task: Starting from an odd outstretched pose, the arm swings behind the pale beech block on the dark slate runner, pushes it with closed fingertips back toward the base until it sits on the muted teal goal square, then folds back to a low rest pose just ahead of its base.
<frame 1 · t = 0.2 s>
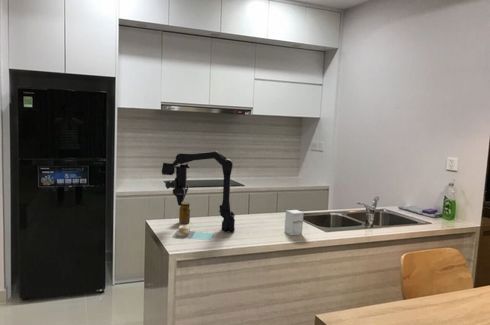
hand: (180, 203, 215), 14 cm above the countertop, fingers open, 9 cm apart
supplement box: (293, 233, 218), on the countertop
runner mat: (193, 236, 203), on the countertop
beech block: (184, 234, 204), point 1 cm above the countertop, touching runner mat
condiment: (184, 224, 225), on the countertop
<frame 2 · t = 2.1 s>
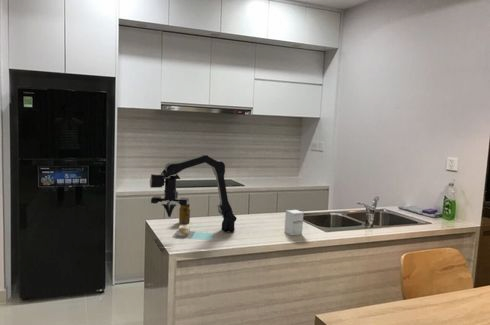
hand: (169, 216, 203), 9 cm above the countertop, fingers closed
nothing on the countertop moved.
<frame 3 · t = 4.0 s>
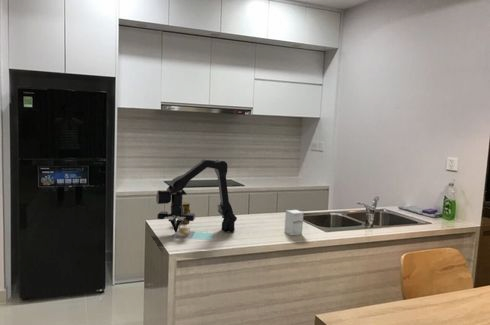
hand: (176, 232, 204), 1 cm above the countertop, fingers closed
beech block: (184, 234, 204), point 1 cm above the countertop, touching gripper
everything else where it was.
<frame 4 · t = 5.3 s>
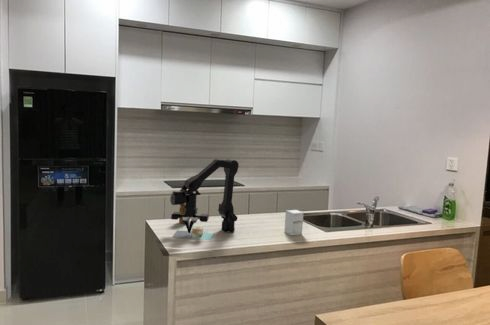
hand: (189, 232, 203), 2 cm above the countertop, fingers closed
beech block: (197, 235, 203), point 1 cm above the countertop, touching gripper, runner mat
everything else where it was.
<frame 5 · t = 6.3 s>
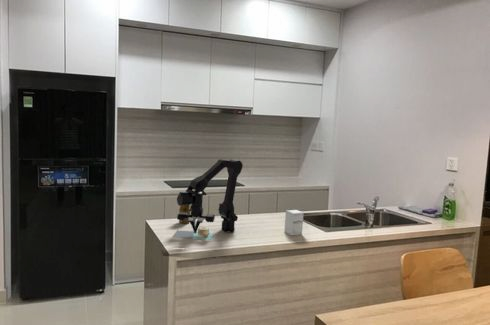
hand: (195, 233, 203), 2 cm above the countertop, fingers closed
beech block: (203, 235, 203), point 1 cm above the countertop, touching gripper, runner mat
everything else where it was.
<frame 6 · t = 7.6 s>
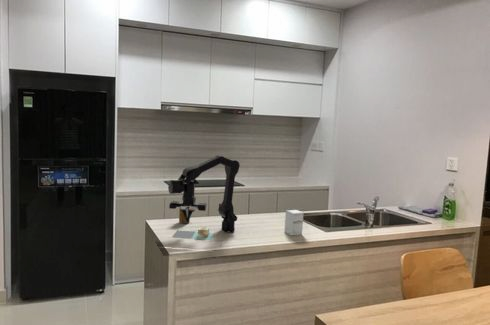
hand: (187, 222, 202), 7 cm above the countertop, fingers closed
beech block: (203, 235, 203), point 1 cm above the countertop, touching runner mat
everything else where it was.
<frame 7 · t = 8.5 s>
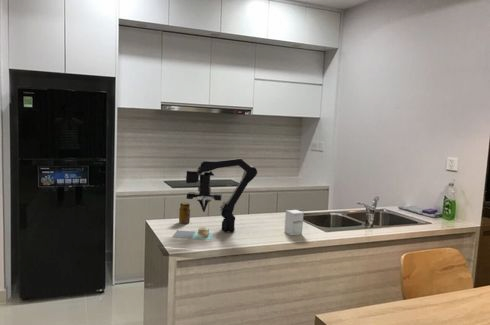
hand: (204, 211, 213), 11 cm above the countertop, fingers closed
nothing on the countertop moved.
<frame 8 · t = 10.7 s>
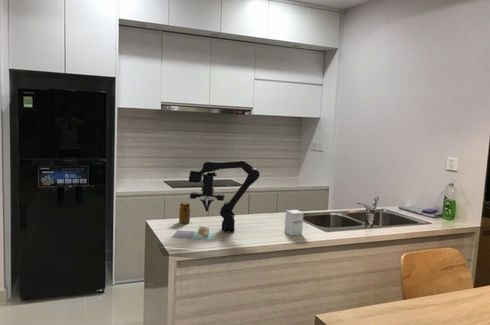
hand: (206, 211, 216), 10 cm above the countertop, fingers closed
nothing on the countertop moved.
at the end: beech block inside the target area on the runner mat (0.4 cm from its centre), point 0.6 cm above the runner mat's base; beech block tilted 0°; beech block moved 10.3 cm from its start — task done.
